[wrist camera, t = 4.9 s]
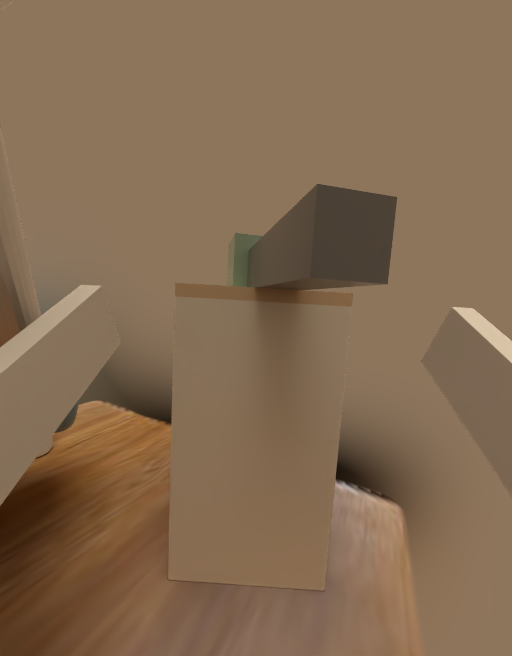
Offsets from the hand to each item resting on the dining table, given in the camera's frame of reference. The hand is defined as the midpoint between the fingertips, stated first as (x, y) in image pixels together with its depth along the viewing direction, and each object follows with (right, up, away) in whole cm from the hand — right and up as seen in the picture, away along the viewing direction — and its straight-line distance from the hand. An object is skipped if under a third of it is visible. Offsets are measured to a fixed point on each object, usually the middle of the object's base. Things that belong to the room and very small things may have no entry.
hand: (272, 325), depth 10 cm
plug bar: (+1, +3, +12) cm, 13 cm away
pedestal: (-2, -26, +23) cm, 34 cm away
